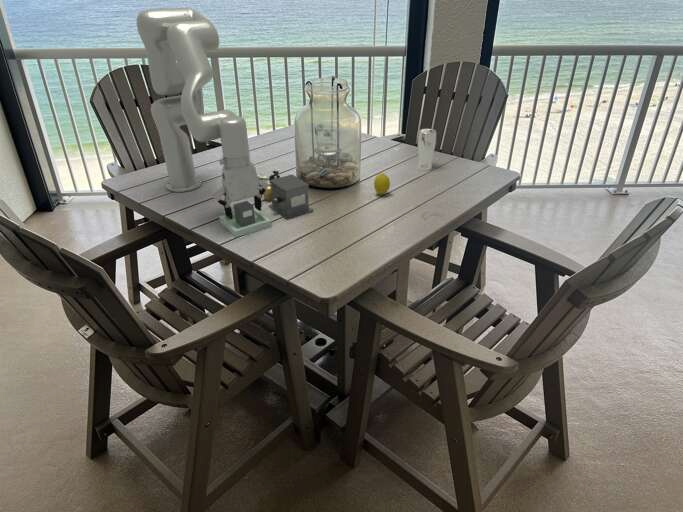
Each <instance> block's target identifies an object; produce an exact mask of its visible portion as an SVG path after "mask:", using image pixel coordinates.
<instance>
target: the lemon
mask: <svg viewBox="0 0 683 512" xmlns="http://www.w3.org/2000/svg"><path fill="white" fill-rule="evenodd" d="M373 182H374V183H373V189H374V191H375V192H376V193H378V194H379V195H382V196H383V195H384V194H386V193H387V192H388V191H389V190H390V187H391V182H390V178H389V176H388V175H387V174H385V173H384V172H383V173H380V174H378V175H376V177H375V179H374V181H373Z"/></svg>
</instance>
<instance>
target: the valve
mask: <svg viewBox="0 0 683 512" xmlns="http://www.w3.org/2000/svg"><path fill="white" fill-rule="evenodd" d="M255 170H256V171H257V169H256V167H255ZM272 173H273V174H270V175H269V176H267V175H263V174H262V173H257V177H258V179H259V180H262V181H265V182H268V181H269V180H272V179H276V178H280V177H281V176H280V174H279V173H280V172H279V170H272ZM269 184H271V183H270V182H269Z"/></svg>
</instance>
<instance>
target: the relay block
mask: <svg viewBox="0 0 683 512" xmlns="http://www.w3.org/2000/svg"><path fill="white" fill-rule="evenodd" d="M254 208H255V206H254V205H253V204H251V202H249V201H248V200H245V201H241V202H237V203H234V204H233V213H234V212H235V219H236V222H237V223H238V224H239V225H240V226H242V227H245V226H248V225H251V224H254V223H255V215H254Z"/></svg>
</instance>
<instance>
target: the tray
mask: <svg viewBox="0 0 683 512" xmlns="http://www.w3.org/2000/svg"><path fill="white" fill-rule="evenodd" d="M254 215H255V223H254V224H251V225H248V226H245V227H242V226H240V225H239V224H238V223H237V222H236V219H235V212H234V211H233V212H232V216H233V218H232V219H229V218H228V217H227V216H226V215H220V216H219V217H218V218H219V222H220V224H221V225H222V226H223V227H224V228H225V229H227V230H228V231H229V232H230V233H231V235H233V237H235V238H239V237H242V236H244V235H248V234H251V233H254V232H258V231H261V230H264V229H267V228H271V227H272V226H273V225H272V220H271V219H270V218H268V216H266V215H265V214H263V213H262V212H261V211H259V210H257V209H256V208H255V207H254Z"/></svg>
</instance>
